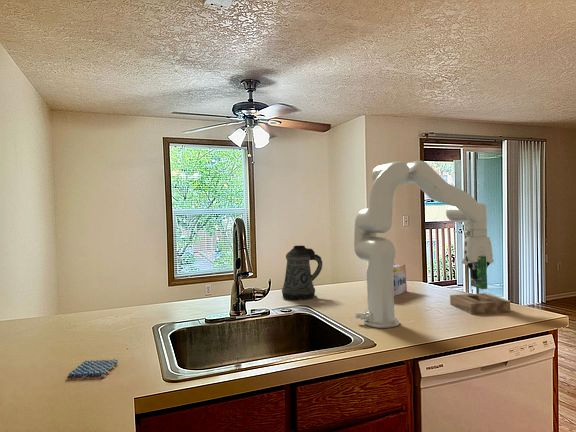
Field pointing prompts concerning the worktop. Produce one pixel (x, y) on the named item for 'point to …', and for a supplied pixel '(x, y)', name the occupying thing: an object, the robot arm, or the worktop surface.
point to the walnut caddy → (480, 303)
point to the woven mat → (93, 369)
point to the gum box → (399, 279)
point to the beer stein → (300, 274)
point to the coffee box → (480, 274)
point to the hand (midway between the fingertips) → (478, 278)
